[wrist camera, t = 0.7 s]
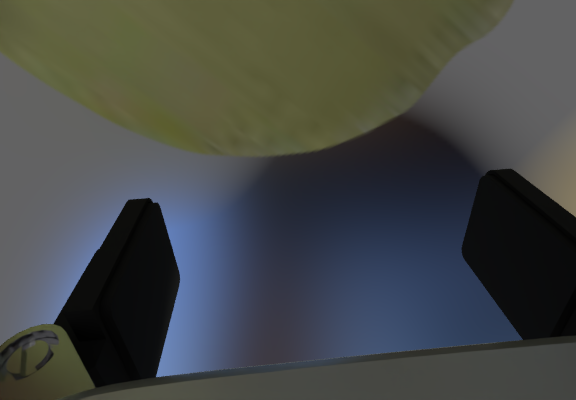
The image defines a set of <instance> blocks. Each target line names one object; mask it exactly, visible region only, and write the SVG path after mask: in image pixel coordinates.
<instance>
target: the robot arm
mask: <svg viewBox="0 0 576 400" xmlns="http://www.w3.org/2000/svg"><path fill="white" fill-rule="evenodd" d="M462 255H463V258H464V259H465V261H466V262H467V264H468V265H469V266H470V268H471V269H472V270H473V272H474V273H475V275H476V276H477V277H478V279H479V280H480V281H481V283H482V284H483V286H484V287H485V288H486V290H487V291H488V292H489V294H490V295H491V297H492V298H493V299H494V300H495V302H496V303H497V305H498V306H499V308H500V309H501V310H502V312H503V313H504V314H505V316H506V317H507V319H508V320H509V321H510V323H511V324H512V325H513V327H514V328H515V329H516V331H517V332H518V334H519V335H520V336H521V337H522V339H523V340H519V341H508V342H497V343H487V344H476V345H465V346H453V347H443V348H433V349H422V350H412V351H402V352H391V353H381V354H371V355H361V356H351V357H340V358H330V359H320V360H310V361H300V362H291V363H281V364H271V365H262V366H252V367H243V368H232V369H223V370H214V371H205V372H197V373H190V374H180V375H172V376H165V377H156V374H157V370H158V366H159V362H160V358H161V355H162V351H163V347H164V343H165V339H166V335H167V331H168V327H169V323H170V319H171V315H172V311H173V308H174V303H175V300H176V296H177V292H178V288H179V283H180V274H179V270H178V267H177V263H176V260H175V256H174V253H173V249H172V246H171V243H170V239H169V236H168V233H167V229H166V225H165V222H164V218H163V215H162V212H161V208H160V206H159V204H158V203H153V202H152V200H151V199H150V198H146V199H133V200H128V201H127V202H126V204H125V206H124V208H123V209H122V211H121V213H120V215H119V216H118V218H117V220H116V221H115V223H114V225H113V226H112V228H111V230H110V232H109V233H108V235H107V237H106V239H105V240H104V242H103V244H102V245H101V247H100V249H98V250H97V251H96V253H95V254H94V256H93V258H92V259H91V261H90V263H89V264H88V266H87V268H86V270H85V271H84V273H83V274H82V276H81V278H80V280H79V281H78V283H77V285H76V286H75V288H74V290H73V292H72V293H71V295H70V297H69V299H68V300H67V302H66V304H65V305H64V307H63V308H62V310H61V312H60V314H59V315H58V317H57V319H56V321H55V322H54V324H42V325H38V326H34V327H30V328H28V329H26V330H24V331H22V332H19V333H17V334H16V335H14V336H13V337H11V338H10V339H8V340H7V341H6V342H4V343H3V344H2V345H1V346H0V400H576V217H575V216H573V215H572V214H571V213H569V212H568V211H566V210H565V209H564V208H563V207H562V206H560V205H559V204H558V203H556V202H555V201H554V200H552V199H551V198H550V197H548V196H547V195H546V194H544V193H543V192H542V191H540V190H539V189H538V188H536V187H535V186H534V185H532V184H531V183H530V182H529V181H527V180H526V179H525V178H523V177H522V176H521V175H519V174H518V173H517V172H515V171H514V170H512V169H501V170H490V171H488V172H487V173H486V175H485V176H483V177H482V178H481V179H480V181H479V185H478V189H477V192H476V196H475V200H474V203H473V207H472V211H471V215H470V218H469V223H468V226H467V230H466V233H465V237H464V241H463V245H462Z"/></svg>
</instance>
